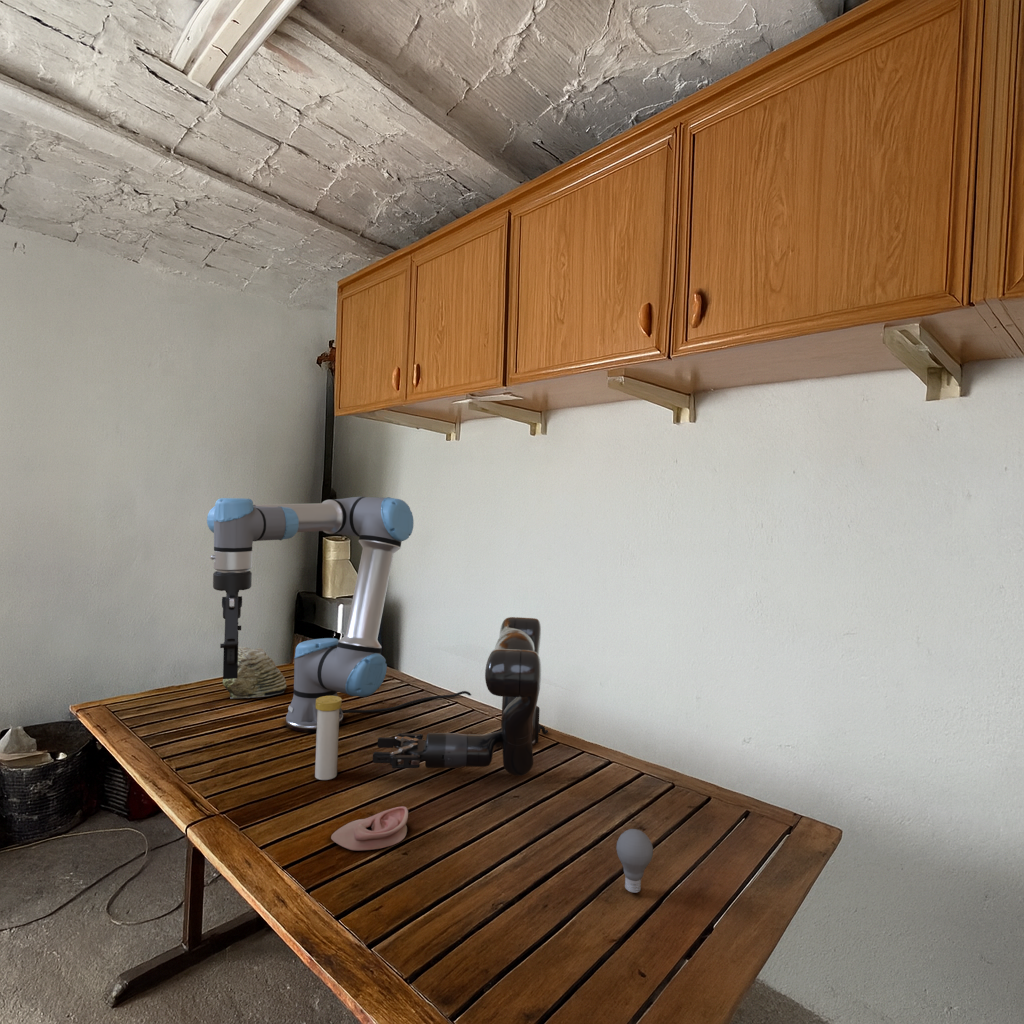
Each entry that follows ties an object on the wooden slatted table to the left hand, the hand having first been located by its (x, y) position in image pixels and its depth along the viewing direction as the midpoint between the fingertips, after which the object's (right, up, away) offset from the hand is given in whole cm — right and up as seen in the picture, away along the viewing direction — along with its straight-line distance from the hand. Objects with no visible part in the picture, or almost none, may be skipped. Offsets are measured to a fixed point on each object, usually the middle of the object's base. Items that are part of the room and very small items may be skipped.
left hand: (230, 669), depth 136 cm
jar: (+18, -26, +8) cm, 33 cm away
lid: (+19, -9, +8) cm, 22 cm away
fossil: (-20, -24, +62) cm, 70 cm away
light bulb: (+80, -30, -30) cm, 91 cm away
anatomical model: (+34, -27, -16) cm, 46 cm away
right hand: (+29, -21, +9) cm, 37 cm away
